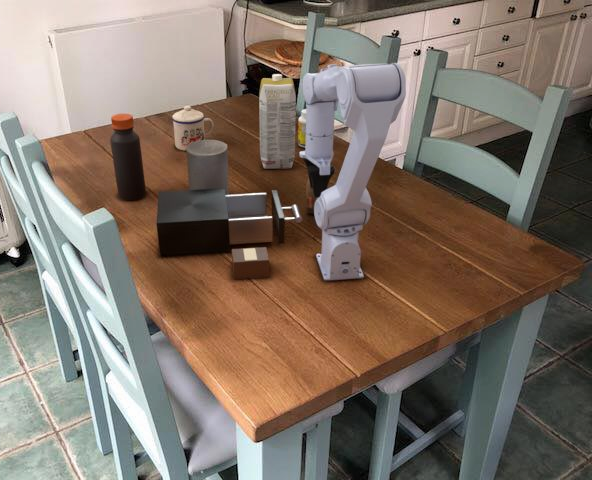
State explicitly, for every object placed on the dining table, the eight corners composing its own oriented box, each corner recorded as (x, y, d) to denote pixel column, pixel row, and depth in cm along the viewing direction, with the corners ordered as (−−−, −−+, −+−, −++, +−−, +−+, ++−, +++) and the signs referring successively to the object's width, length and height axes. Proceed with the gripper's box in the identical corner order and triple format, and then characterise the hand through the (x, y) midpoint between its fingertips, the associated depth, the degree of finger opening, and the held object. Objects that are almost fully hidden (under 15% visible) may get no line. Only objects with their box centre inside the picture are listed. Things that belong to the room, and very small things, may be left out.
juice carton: (293, 158, 176) (294, 71, 163) (295, 170, 169) (296, 80, 156) (259, 158, 175) (258, 72, 162) (260, 170, 169) (259, 81, 156)
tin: (317, 220, 145) (318, 187, 141) (303, 219, 146) (304, 185, 141) (325, 192, 158) (327, 160, 153) (313, 190, 158) (314, 159, 154)
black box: (226, 219, 146) (224, 187, 141) (230, 252, 133) (228, 218, 129) (162, 223, 144) (158, 191, 140) (160, 257, 132) (156, 223, 128)
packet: (269, 277, 126) (269, 259, 123) (234, 279, 125) (233, 261, 123) (266, 263, 130) (266, 246, 128) (232, 265, 129) (231, 248, 127)
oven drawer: (294, 213, 146) (295, 188, 143) (304, 242, 135) (305, 216, 132) (218, 217, 145) (216, 193, 141) (221, 248, 133) (219, 221, 130)
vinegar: (119, 202, 153) (107, 123, 142) (117, 190, 159) (106, 113, 148) (147, 199, 155) (138, 120, 144) (144, 187, 160) (135, 110, 149)
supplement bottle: (301, 140, 186) (302, 106, 181) (319, 142, 185) (320, 108, 179) (295, 147, 182) (296, 112, 176) (313, 149, 180) (315, 115, 175)
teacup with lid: (181, 153, 178) (177, 113, 172) (170, 143, 185) (166, 104, 179) (220, 146, 183) (218, 107, 177) (208, 136, 190) (206, 98, 184)
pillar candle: (184, 195, 156) (179, 138, 148) (220, 187, 160) (217, 131, 152) (198, 212, 149) (194, 152, 141) (236, 203, 153) (234, 144, 144)
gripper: (295, 120, 135) (294, 178, 142) (306, 146, 123) (304, 208, 130) (327, 119, 136) (324, 177, 143) (341, 144, 123) (338, 206, 131)
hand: (317, 192), depth 136 cm, fingers open, 4 cm apart
